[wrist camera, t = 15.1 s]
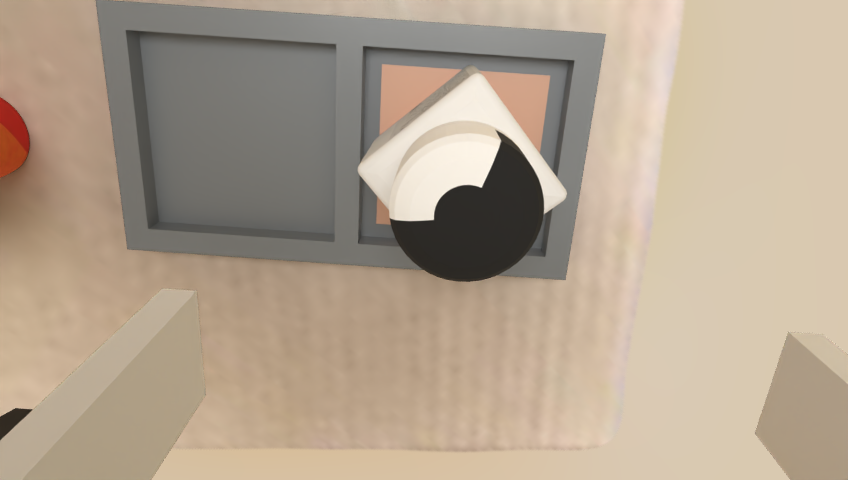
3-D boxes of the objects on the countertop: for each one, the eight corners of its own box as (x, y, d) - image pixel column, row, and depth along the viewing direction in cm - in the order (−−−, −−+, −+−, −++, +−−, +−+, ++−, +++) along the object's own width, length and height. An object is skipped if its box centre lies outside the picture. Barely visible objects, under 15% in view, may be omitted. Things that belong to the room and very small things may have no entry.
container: (545, 163, 35) (599, 233, 23) (446, 234, 37) (448, 333, 25) (471, 61, 33) (488, 79, 21) (371, 141, 35) (333, 200, 23)
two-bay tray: (146, 236, 39) (127, 249, 37) (119, 1, 34) (95, -1, 32) (557, 265, 39) (565, 280, 37) (594, 33, 34) (606, 33, 31)
